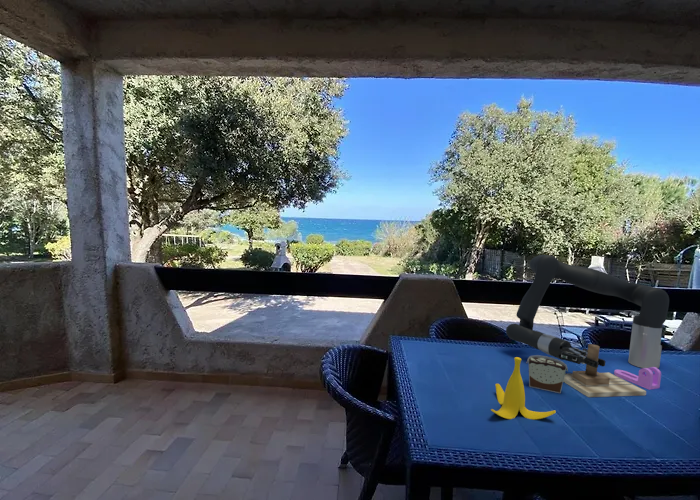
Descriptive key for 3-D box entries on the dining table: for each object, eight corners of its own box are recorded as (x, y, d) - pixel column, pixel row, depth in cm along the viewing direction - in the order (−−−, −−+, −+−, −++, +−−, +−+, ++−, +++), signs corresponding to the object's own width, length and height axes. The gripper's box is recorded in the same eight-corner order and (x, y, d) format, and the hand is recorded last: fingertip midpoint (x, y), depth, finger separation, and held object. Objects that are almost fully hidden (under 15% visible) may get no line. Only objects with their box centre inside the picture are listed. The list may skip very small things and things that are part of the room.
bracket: (659, 388, 120) (661, 369, 119) (649, 390, 118) (651, 371, 118) (620, 372, 132) (622, 355, 132) (610, 373, 130) (612, 356, 130)
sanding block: (594, 377, 122) (597, 342, 121) (608, 386, 116) (613, 348, 115) (572, 378, 121) (575, 342, 120) (585, 386, 115) (589, 349, 114)
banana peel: (496, 392, 112) (500, 343, 111) (556, 422, 96) (562, 365, 95) (464, 405, 103) (467, 352, 102) (523, 440, 87) (529, 378, 86)
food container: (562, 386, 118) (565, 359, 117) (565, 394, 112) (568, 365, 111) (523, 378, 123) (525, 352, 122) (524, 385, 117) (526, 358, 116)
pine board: (608, 376, 128) (609, 372, 128) (645, 395, 114) (646, 391, 114) (556, 377, 125) (557, 373, 125) (588, 397, 111) (588, 392, 111)
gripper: (542, 338, 128) (589, 356, 112) (567, 335, 133) (615, 351, 118) (540, 357, 129) (586, 377, 113) (565, 353, 134) (612, 372, 118)
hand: (600, 364), depth 115 cm, fingers closed on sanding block, 3 cm apart
